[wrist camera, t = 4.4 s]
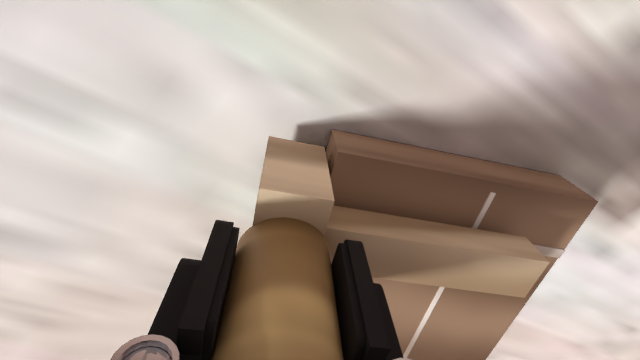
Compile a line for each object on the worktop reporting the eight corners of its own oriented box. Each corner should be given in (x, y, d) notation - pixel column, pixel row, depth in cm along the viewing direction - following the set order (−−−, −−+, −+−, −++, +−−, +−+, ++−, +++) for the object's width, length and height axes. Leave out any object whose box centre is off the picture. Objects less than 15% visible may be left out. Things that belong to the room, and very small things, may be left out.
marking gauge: (259, 134, 14) (193, 382, 5) (514, 183, 16) (796, 426, 7) (244, 229, 16) (180, 519, 7) (469, 262, 18) (639, 524, 9)
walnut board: (331, 129, 15) (337, 152, 13) (559, 175, 17) (599, 202, 15) (259, 404, 25) (256, 444, 23) (410, 414, 27) (420, 452, 25)
